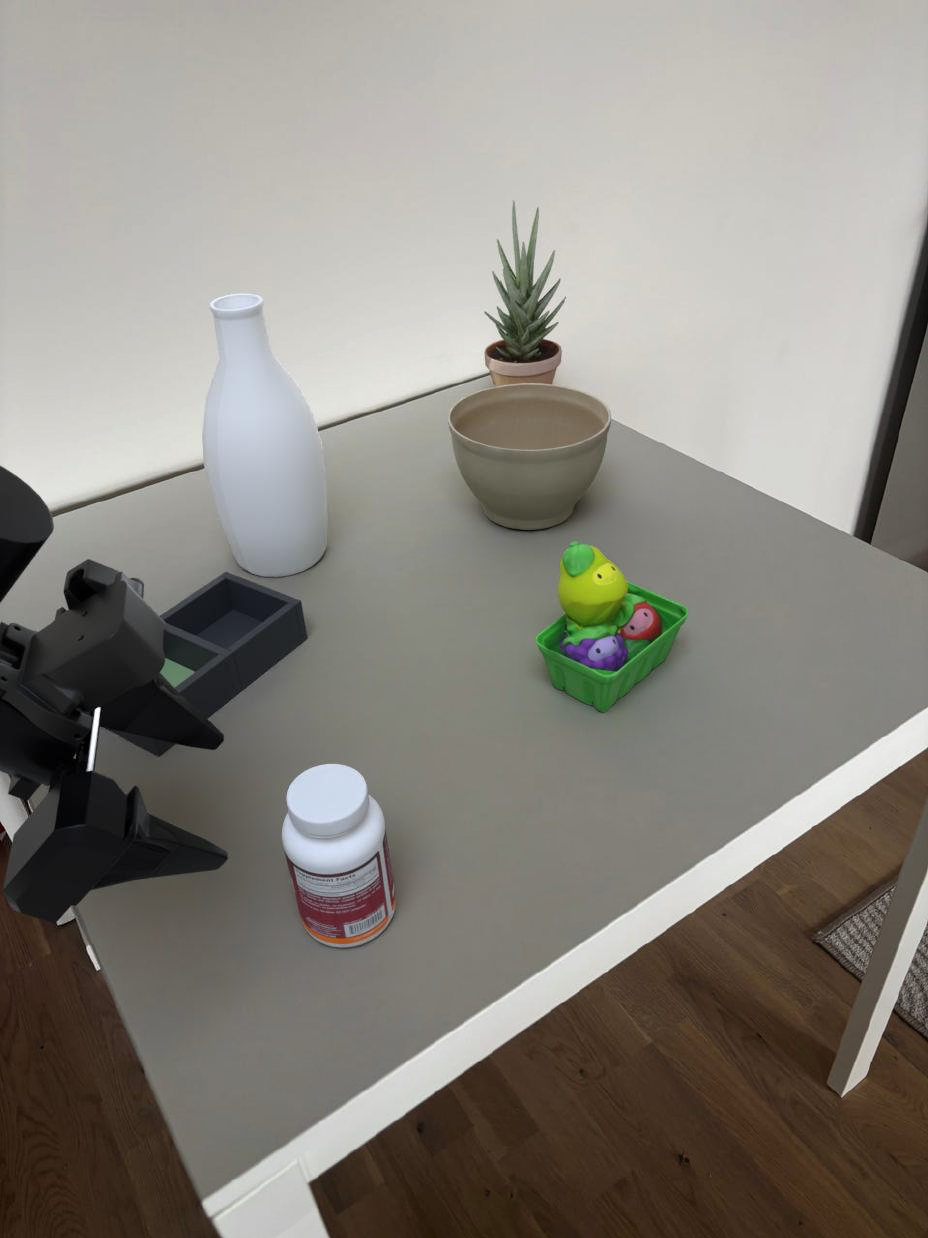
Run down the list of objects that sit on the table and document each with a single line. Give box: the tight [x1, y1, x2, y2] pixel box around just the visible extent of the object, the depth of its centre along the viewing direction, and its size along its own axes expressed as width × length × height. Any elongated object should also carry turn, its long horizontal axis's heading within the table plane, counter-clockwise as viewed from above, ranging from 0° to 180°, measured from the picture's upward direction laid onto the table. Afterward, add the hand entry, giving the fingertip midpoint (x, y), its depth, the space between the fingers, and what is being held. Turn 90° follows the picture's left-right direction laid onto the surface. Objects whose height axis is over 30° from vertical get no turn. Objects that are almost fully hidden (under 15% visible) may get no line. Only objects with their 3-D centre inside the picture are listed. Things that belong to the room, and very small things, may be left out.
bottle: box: [201, 292, 329, 578], centre depth 90 cm, size 11×11×25 cm
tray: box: [105, 571, 308, 757], centre depth 81 cm, size 17×9×4 cm, turn 146°
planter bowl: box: [447, 383, 612, 531], centre depth 99 cm, size 16×16×11 cm
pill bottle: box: [281, 763, 397, 949], centre depth 59 cm, size 6×6×11 cm
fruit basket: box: [534, 540, 690, 713], centre depth 77 cm, size 11×9×11 cm
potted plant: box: [483, 199, 567, 387], centre depth 117 cm, size 10×10×25 cm
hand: (221, 798), depth 54 cm, fingers open, 9 cm apart
